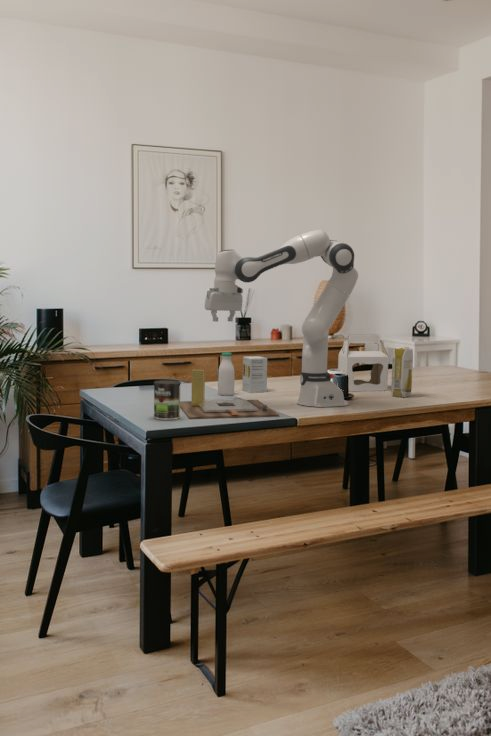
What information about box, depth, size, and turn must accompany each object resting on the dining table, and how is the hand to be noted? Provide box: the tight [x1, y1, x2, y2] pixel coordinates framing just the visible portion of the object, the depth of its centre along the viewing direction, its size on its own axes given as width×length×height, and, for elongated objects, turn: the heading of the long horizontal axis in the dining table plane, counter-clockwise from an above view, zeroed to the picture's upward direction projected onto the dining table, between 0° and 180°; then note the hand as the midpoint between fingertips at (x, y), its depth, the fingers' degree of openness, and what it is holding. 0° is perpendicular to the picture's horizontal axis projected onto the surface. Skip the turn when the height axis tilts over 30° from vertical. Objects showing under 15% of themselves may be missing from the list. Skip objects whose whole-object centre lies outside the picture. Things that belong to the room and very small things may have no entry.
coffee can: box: [153, 379, 182, 421], centre depth 268 cm, size 10×10×14 cm
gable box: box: [337, 333, 389, 393], centre depth 350 cm, size 22×13×28 cm, turn 102°
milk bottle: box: [217, 351, 235, 397], centre depth 326 cm, size 8×8×20 cm
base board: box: [180, 399, 280, 420], centre depth 288 cm, size 36×36×3 cm
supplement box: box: [242, 355, 268, 394], centre depth 339 cm, size 10×9×17 cm
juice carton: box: [390, 345, 414, 398], centre depth 329 cm, size 9×8×24 cm
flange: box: [191, 369, 258, 415], centre depth 283 cm, size 25×29×15 cm
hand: (222, 321), depth 292 cm, fingers open, 8 cm apart
